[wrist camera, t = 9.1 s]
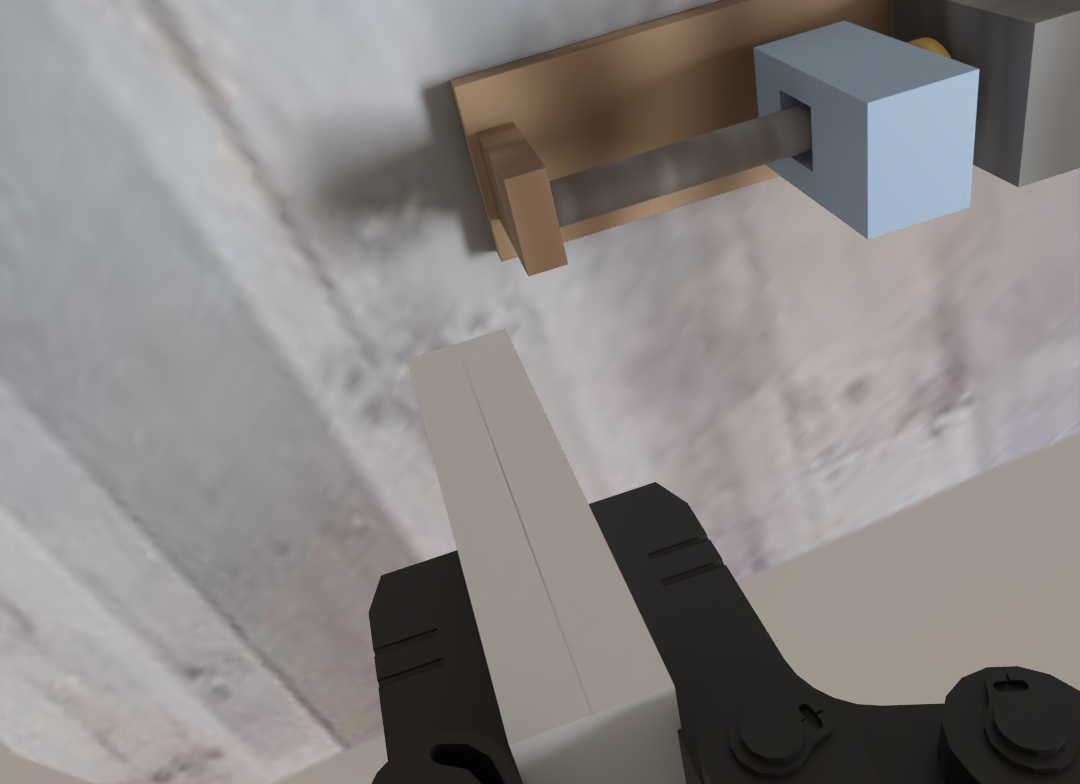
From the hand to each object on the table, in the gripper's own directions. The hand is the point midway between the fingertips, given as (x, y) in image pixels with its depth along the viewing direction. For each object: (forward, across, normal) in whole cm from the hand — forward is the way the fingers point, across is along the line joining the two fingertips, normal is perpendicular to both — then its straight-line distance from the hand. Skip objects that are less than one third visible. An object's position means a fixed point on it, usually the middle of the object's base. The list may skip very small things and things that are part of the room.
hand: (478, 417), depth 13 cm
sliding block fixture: (+26, +15, -6) cm, 30 cm away
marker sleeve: (+23, +18, -6) cm, 30 cm away
